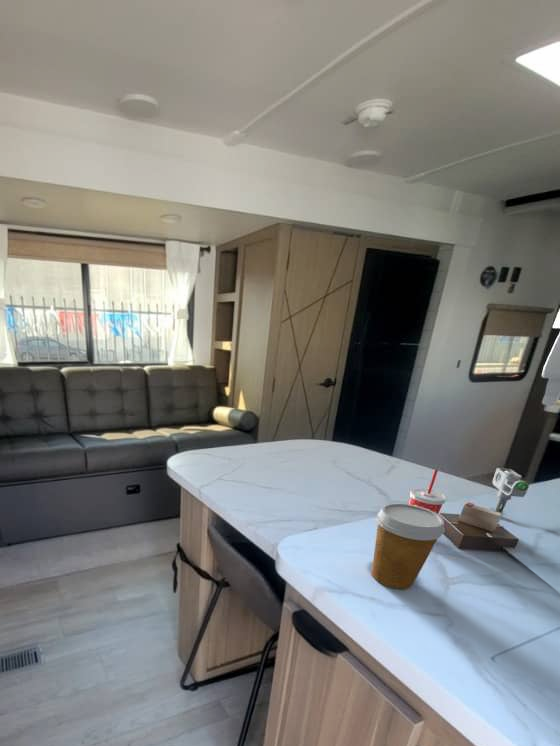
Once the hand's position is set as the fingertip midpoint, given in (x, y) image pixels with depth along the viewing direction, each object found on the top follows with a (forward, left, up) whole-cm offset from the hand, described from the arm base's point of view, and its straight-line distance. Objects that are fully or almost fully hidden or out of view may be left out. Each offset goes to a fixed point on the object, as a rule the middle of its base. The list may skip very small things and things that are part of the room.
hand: (554, 402), depth 74 cm
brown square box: (+8, +4, -27) cm, 28 cm away
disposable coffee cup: (+30, +22, -27) cm, 46 cm away
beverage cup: (+19, +5, -27) cm, 33 cm away
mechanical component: (-4, -8, -27) cm, 28 cm away
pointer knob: (+8, +4, -24) cm, 25 cm away
